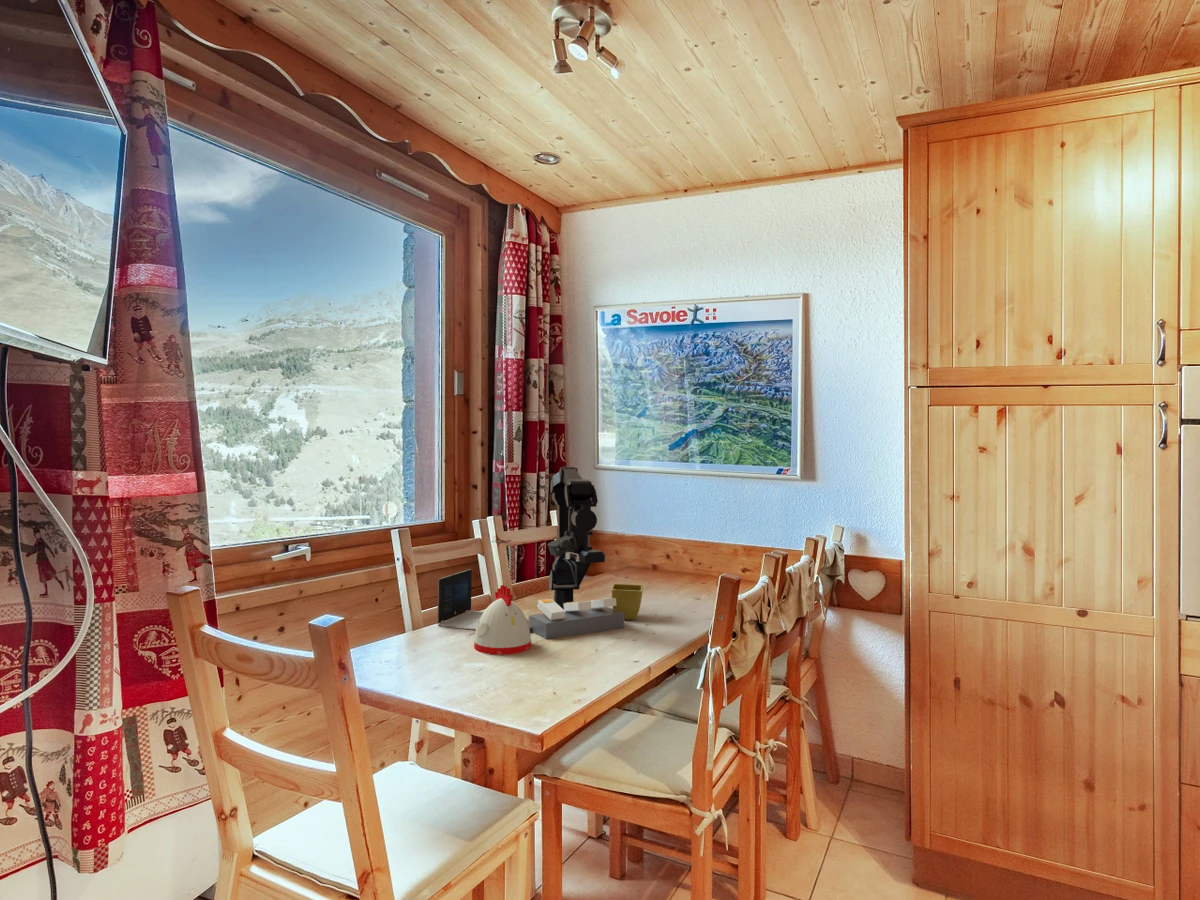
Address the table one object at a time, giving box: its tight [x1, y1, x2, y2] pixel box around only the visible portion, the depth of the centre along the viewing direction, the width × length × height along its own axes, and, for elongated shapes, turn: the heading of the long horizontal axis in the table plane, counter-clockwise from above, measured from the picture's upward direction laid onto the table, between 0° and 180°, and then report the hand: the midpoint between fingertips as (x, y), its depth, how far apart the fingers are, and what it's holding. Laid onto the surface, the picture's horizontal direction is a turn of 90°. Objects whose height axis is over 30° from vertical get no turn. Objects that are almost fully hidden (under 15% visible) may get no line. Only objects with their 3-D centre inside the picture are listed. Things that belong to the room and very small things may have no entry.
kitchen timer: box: [473, 584, 532, 656], centre depth 176 cm, size 14×14×15 cm
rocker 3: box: [588, 597, 617, 608], centre depth 198 cm, size 8×4×2 cm, turn 33°
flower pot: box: [611, 583, 644, 621], centre depth 207 cm, size 9×9×9 cm
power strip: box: [528, 606, 625, 640], centre depth 192 cm, size 10×30×4 cm, turn 122°
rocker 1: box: [536, 598, 565, 620], centre depth 190 cm, size 8×4×2 cm, turn 31°
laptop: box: [436, 568, 484, 631], centre depth 201 cm, size 18×12×13 cm
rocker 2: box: [564, 600, 592, 611], centre depth 194 cm, size 8×4×2 cm, turn 33°
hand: (577, 584), depth 194 cm, fingers closed
